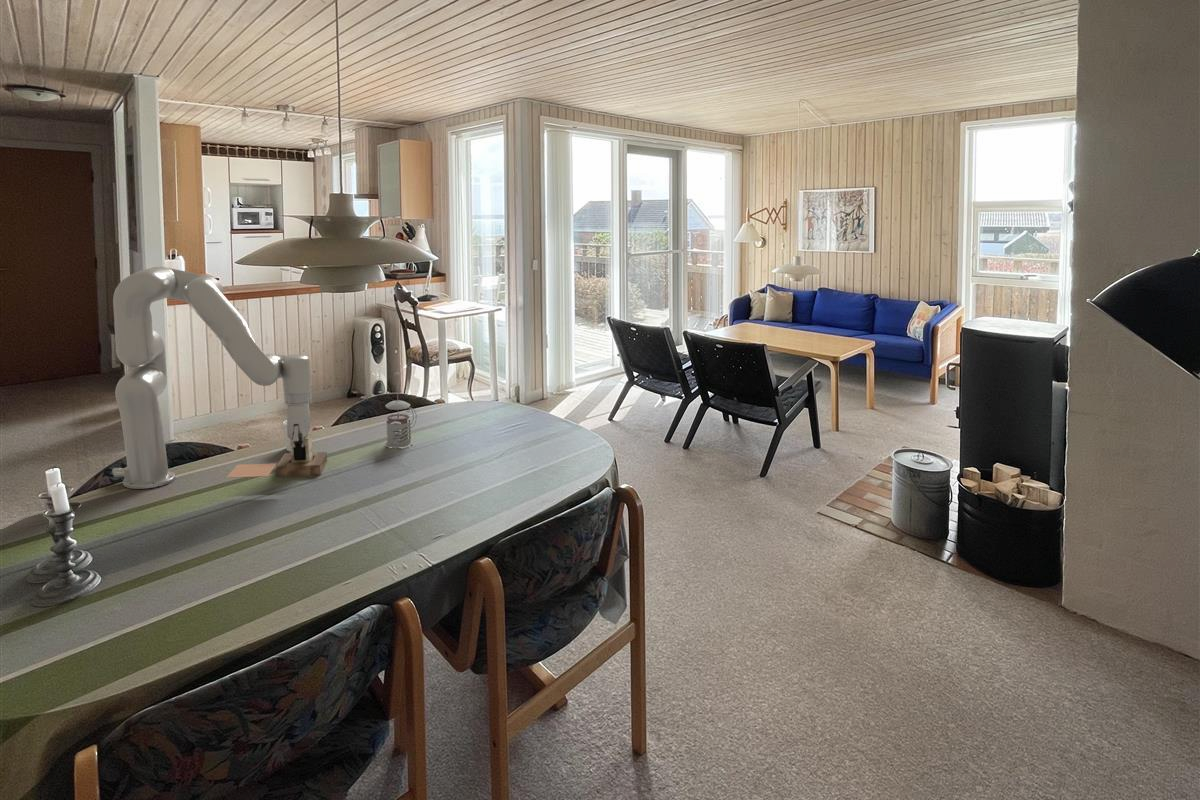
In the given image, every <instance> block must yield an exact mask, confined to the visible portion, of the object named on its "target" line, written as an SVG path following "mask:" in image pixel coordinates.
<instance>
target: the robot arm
mask: <svg viewBox="0 0 1200 800" xmlns="http://www.w3.org/2000/svg"><path fill="white" fill-rule="evenodd" d="M163 299H170V300H176V301H182V302H186V303H187V304H188V306H190V308H191V309H192V310H193V311H194V312H195V313H196V314H197V315H198V317H200V319H201V320H202V321H203V322H204V323H205V325H206V326H208V327H209V329H210V330H211V331H212V333H214V335H215V336H216V337H217V338H218V339H219V341H220V342H221V344H222V347H224V349H225V350H226V351H227V353H228V355H229V356H230V358H231V359H232V360H233V361H234V363H235V364H236V365H237V366H238V368H240V370H241V371H242V372H243V373H244V374H245V375H246V376H247V377H248V379H249V380H250V381H252V382H253V383H254V384H256V385H259V386H262V387H267V386H271V385H273V384H274V383H276V382H277V381H278V379H279V378H281V379H282V388H283V389H282V390H283V404H285V405H287V406H286V407H287V408H286V420H287V436H288V438H291V437H292V435H293V450H294V460H306V449H305V447H304V437H305V436H306V435H307V434H308V432H309V430H311V413H310V405H309V404H312V403H313V394H312V393H313V392H312V379H311V378H312V377H311V376H312V375H311V363H310V359H309V357H308V356H307V355H305V354H304V355H303V354H289V355H285V354H274V353H265V352H264V351H263V350H262V349H261V348H260V347H259V345H258V344H257V342H256V341H255V339H254V338H253V336H252V334H251V331H250V327H249V325H248V323H247V320H246V319H245V317H244V316H243V315H242V314H241V313H240V311H238V310H237V308H236V307H235V306H234V305H233V304H232V303H231V301H229V300H228V298H227V296H225V295H224V287H223V285H222V284H221V282H220V281H219V280H218V279H216V278H215V277H212V276H209V275H206V274H200V273H197V272H196V273H194V272H191V271H185V270H181V269H176V268H171V267H166V266H165V267H164V266H155V267H149V268H145V269H142V270H139V271H137V272H134V273H132V274H130V275H128V276H126V277H125V278H123V279H122V280H121V281H120V282H119V283H118V284H117V286H116V287H115V290H114V293H113V297H112V302H113V303H112V307H113V319H114V322H113V323H114V337H115V353H116V356H117V358H118V360H119V362H121V363H122V364H123V365H124V366H127V371H128V372H127V373H126V374H124V375H123V376H122V377H121V378H120V379H119V380H118V382H117V384H116V385H115V386H116V387H115V391H114V394H115V401H116V404H117V408H118V411H119V416H120V422H121V428H122V429H121V430H122V434H123V441H124V450H125V451H124V452H125V459H126V465H127V466H125V467H124V468H122V467H114V468H112V472H111V473H112V475H113V477H114V478H120V477H123V478H124V479H122V486H124V487H125V488H127V489H132V490H141V489H142V490H145V489H151V488H152V489H153V488H159V487H162V486H165V485H168V484H170V483H172V482H174V481H175V479H176V473H175V472H174V471H170V470H169V466H168V457H167V456H168V455H167V450H166V447H167V446H166V440H165V431H164V423H163V416H162V410H161V407H160V405H159V403H160V402H159V396H160V395H161V394H163V392H164V391H165V389H166V387H167V383H168V380H167V378H168V375H167V373H168V372H167V361H166V359H167V358H166V347H165V342H164V340H163V338H162V336H161V335H160V334H159V333H158V332H157V331H156V330H155V329H153V318H152V312H151V305H152V303H154V302H157V301H161V300H163ZM299 435H302V437H299ZM299 439H301V440H299ZM158 486H159V487H158Z"/></svg>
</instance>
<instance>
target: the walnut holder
mask: <svg viewBox="0 0 1200 800" xmlns="http://www.w3.org/2000/svg"><path fill="white" fill-rule="evenodd" d="M327 453H328V452H327V451H325V452H324V451H322V452H321V451H319V452H317V451H316V452H312V455H313V461H312V462H305V463H292V461H291V452H288V453H287V452H285V453H284V454H283V455H282V457H281V459H280V460H279V461H278V463H276V465H275V469H276V471H275V472H276V477H298V476H299V477H301V476H303V477H304V476H306V477H307V476H321V475H322V473H323V471H324V469H325V467H326V465H327V463H328V455H327Z"/></svg>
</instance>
